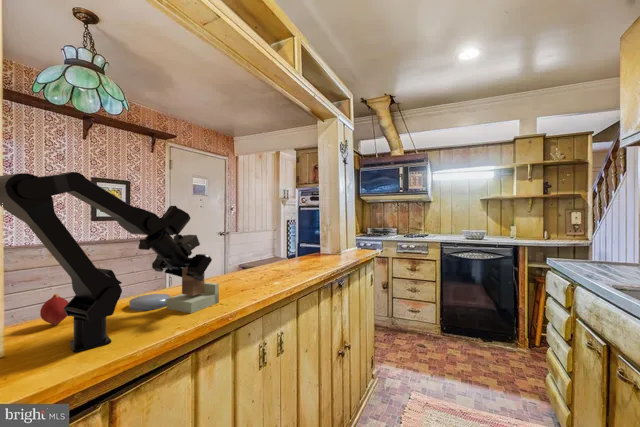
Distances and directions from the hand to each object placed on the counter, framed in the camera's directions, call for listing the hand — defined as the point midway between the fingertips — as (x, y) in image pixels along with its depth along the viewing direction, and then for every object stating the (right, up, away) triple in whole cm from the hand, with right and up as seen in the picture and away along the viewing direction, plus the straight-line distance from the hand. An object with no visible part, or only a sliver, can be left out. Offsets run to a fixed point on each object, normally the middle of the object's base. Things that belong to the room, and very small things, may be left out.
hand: (196, 278), depth 93 cm
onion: (-29, -8, -17) cm, 35 cm away
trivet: (-14, -8, -1) cm, 16 cm away
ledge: (-1, -8, -1) cm, 8 cm away
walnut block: (-1, -4, -1) cm, 4 cm away
